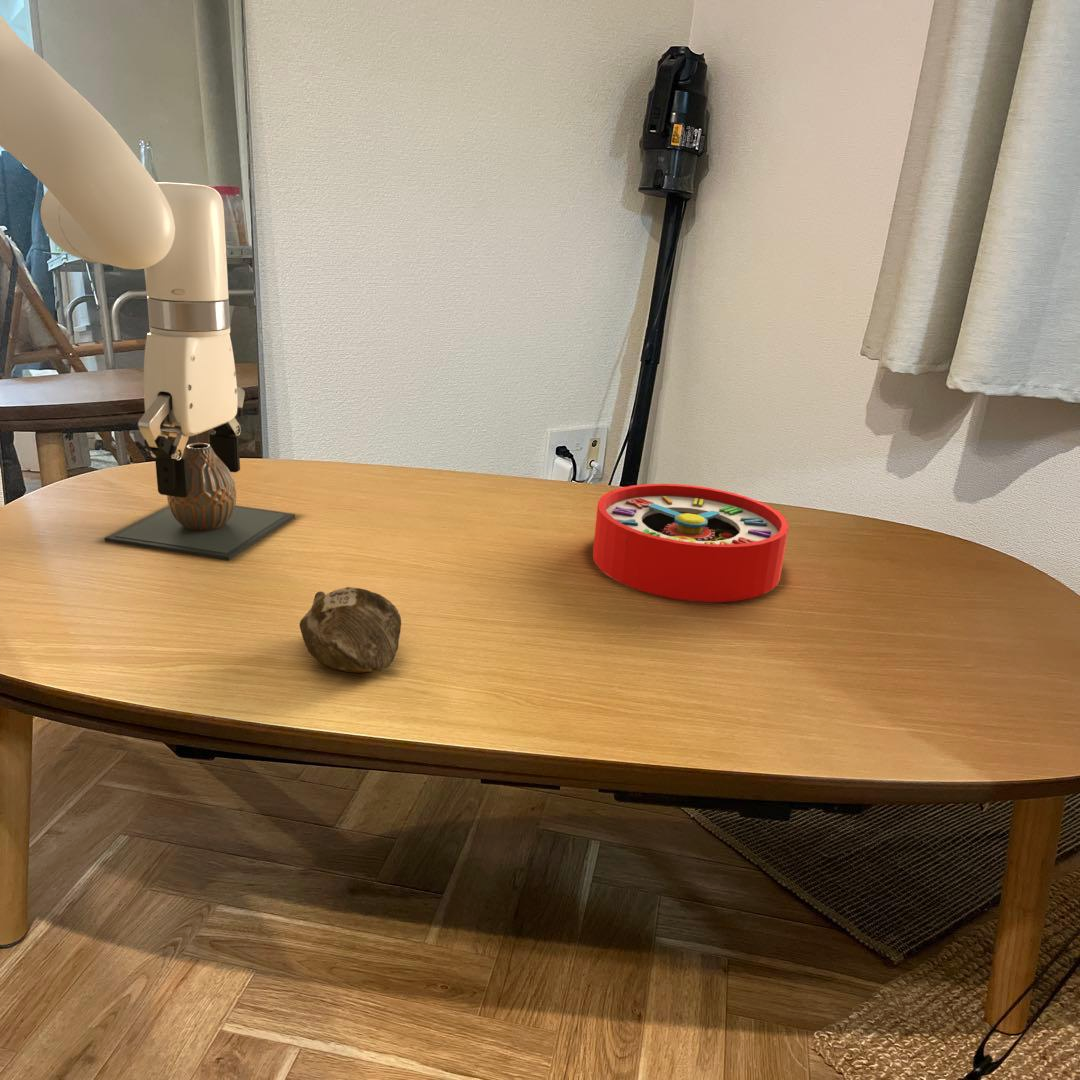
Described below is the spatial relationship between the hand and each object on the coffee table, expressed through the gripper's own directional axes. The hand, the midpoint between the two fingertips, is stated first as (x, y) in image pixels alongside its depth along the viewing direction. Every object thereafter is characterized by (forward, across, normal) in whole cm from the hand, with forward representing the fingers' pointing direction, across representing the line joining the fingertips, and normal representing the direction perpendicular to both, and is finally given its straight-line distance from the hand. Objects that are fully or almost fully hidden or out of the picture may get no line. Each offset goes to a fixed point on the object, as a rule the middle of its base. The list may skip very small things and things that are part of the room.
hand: (201, 482), depth 95 cm
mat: (+5, 0, 0) cm, 5 cm away
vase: (+5, 0, 0) cm, 5 cm away
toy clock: (+5, -10, +51) cm, 52 cm away
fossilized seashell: (+6, +21, +26) cm, 34 cm away
